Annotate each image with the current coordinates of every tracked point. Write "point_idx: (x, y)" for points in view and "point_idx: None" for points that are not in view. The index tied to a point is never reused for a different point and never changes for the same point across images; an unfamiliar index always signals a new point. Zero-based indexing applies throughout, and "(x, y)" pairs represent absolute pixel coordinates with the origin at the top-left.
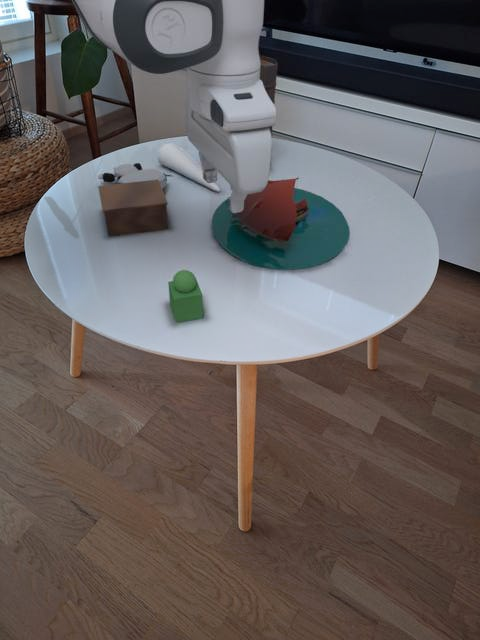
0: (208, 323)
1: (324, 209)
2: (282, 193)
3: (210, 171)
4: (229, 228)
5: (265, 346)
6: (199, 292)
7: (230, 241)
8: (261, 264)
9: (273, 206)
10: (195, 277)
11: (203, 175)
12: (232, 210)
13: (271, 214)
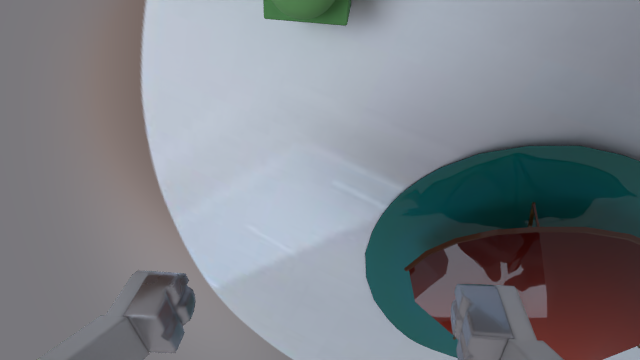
0: (260, 8)
1: None
2: None
3: (473, 352)
4: (584, 189)
5: (172, 98)
6: (273, 13)
7: (533, 170)
8: (415, 192)
9: None
10: (345, 24)
11: (509, 304)
12: (132, 278)
13: None
